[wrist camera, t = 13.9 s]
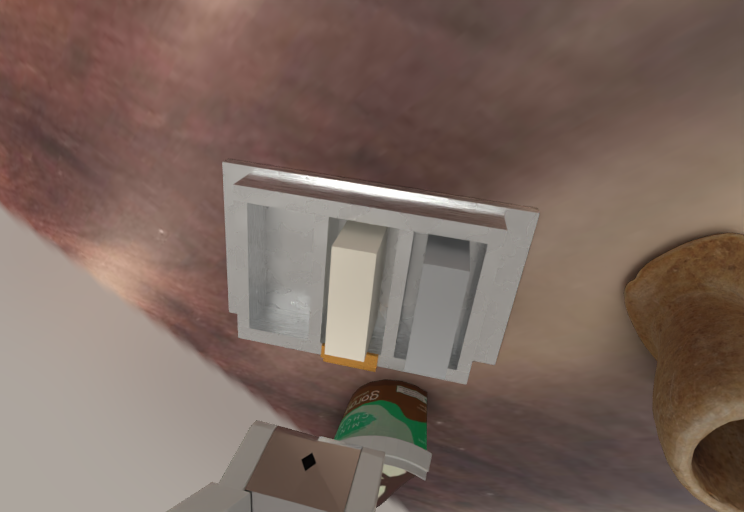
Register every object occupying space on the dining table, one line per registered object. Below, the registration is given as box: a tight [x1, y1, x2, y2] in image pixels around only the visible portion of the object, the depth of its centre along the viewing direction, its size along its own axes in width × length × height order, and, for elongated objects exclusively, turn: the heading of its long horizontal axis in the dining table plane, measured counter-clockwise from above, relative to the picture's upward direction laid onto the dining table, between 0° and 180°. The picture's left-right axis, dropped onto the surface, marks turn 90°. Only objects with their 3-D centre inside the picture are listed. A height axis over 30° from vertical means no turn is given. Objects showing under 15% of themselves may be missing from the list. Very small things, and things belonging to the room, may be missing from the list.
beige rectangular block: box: [325, 220, 389, 362], centre depth 35 cm, size 3×9×6 cm, turn 174°
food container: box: [334, 380, 432, 508], centre depth 40 cm, size 12×6×10 cm, turn 144°
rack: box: [222, 159, 540, 384], centre depth 36 cm, size 24×15×5 cm, turn 84°
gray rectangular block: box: [404, 234, 470, 379], centre depth 34 cm, size 3×9×6 cm, turn 174°
